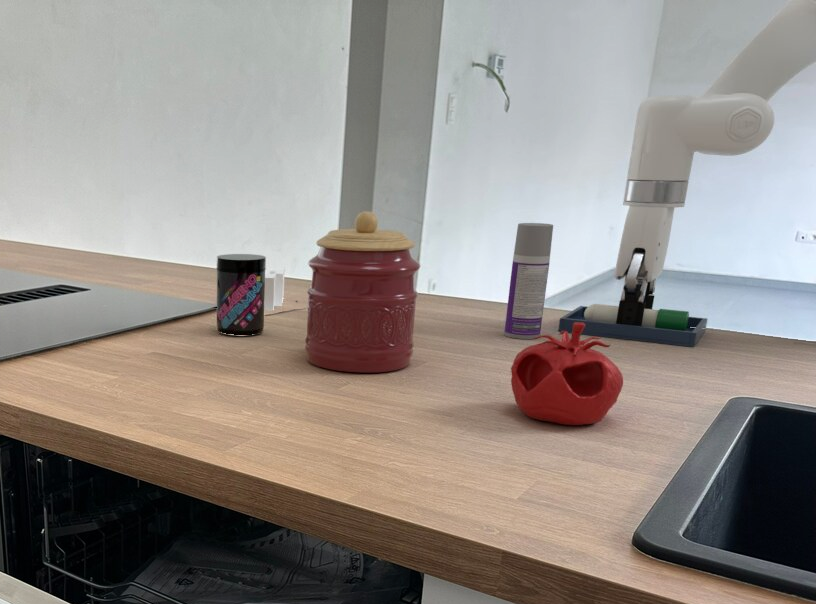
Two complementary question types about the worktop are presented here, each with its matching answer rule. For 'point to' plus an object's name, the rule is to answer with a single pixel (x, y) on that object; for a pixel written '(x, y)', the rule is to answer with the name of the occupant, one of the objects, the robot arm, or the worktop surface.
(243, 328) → the supplement container
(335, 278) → the kitchen canister
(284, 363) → the worktop surface
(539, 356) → the red hollow tomato
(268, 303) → the napkin holder
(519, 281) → the container
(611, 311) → the marker
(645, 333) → the pen tray
